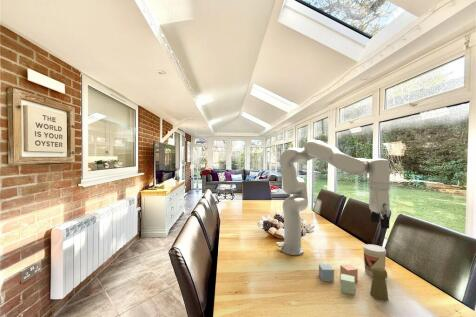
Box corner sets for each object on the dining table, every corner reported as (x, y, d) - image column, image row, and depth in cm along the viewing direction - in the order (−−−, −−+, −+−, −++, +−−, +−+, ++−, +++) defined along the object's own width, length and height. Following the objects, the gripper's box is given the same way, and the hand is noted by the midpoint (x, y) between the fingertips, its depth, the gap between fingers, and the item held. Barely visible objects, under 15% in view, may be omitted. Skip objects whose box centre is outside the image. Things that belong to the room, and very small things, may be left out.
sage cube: (340, 291, 92) (340, 279, 92) (341, 285, 96) (341, 273, 96) (354, 294, 90) (354, 282, 90) (354, 288, 94) (354, 276, 94)
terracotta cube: (347, 281, 99) (347, 270, 99) (340, 275, 104) (340, 265, 104) (357, 280, 100) (357, 269, 100) (349, 274, 105) (349, 263, 105)
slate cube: (322, 280, 100) (322, 269, 100) (318, 275, 105) (318, 264, 105) (333, 281, 100) (333, 269, 100) (329, 275, 105) (329, 264, 105)
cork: (366, 291, 91) (366, 264, 91) (380, 291, 92) (381, 264, 92) (377, 301, 85) (377, 272, 85) (392, 300, 86) (392, 271, 86)
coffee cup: (358, 270, 109) (358, 245, 109) (372, 267, 112) (372, 243, 112) (376, 280, 100) (376, 253, 100) (391, 276, 104) (391, 250, 104)
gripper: (362, 184, 110) (363, 219, 110) (378, 188, 93) (379, 230, 93) (379, 184, 108) (380, 220, 108) (398, 189, 91) (399, 231, 91)
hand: (379, 224), depth 100 cm, fingers open, 9 cm apart
